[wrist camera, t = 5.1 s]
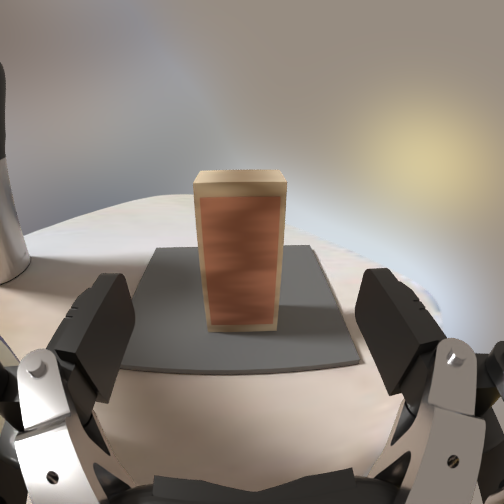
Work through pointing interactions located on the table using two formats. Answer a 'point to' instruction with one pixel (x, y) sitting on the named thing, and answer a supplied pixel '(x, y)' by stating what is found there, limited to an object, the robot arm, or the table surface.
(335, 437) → the table surface
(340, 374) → the table surface
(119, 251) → the table surface
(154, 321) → the rubber mat
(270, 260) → the tan two-tone tall block
